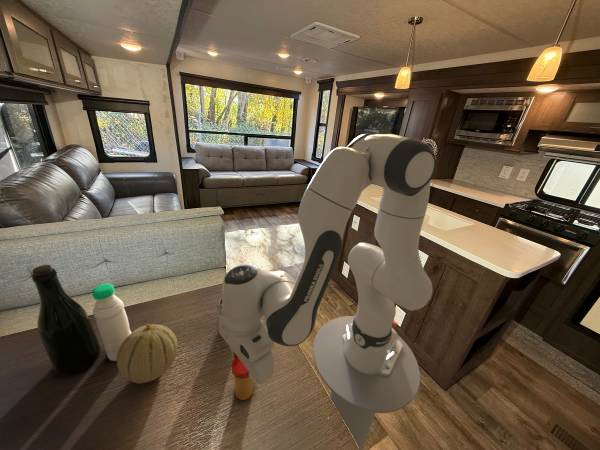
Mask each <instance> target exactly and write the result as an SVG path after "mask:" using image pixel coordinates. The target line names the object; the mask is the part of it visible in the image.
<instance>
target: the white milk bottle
mask: <svg viewBox="0 0 600 450" xmlns="http://www.w3.org/2000/svg"><path fill="white" fill-rule="evenodd" d="M115 293H116V292H115V287H114V285H113V284H111V283H102V284H99V285H97V286H95V287H94V288H93V289H92V291H91V295H92V297H93V299H94V300H95V303H94V306H93V309H92V315H93V317H94V319H95V323H96V326H97V330H98V333H99V335H100V338H101V340H102V344H103V347H104V349H105V353H106V356H107V359H108V360H110V361H112V362H117V359H116V358H117V353H118V350H119V347H120V346H121V344H122V342H123V341H124V340H125V339H126V337H128V336H129V335H130V334H131V333H132V331H131V329H130V322H129V318H128V315H127V312H126V310H125V304H124V301H123V300H122V299H121V298H119V297H118V296H117V295H116V294H115Z"/></svg>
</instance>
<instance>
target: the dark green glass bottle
mask: <svg viewBox="0 0 600 450" xmlns="http://www.w3.org/2000/svg"><path fill="white" fill-rule="evenodd" d="M31 272H32V274H31V281H32V282H33V284H34V285H35V288H36V291H37V293H38V297H39V312H38V317H37V322H36V323H37V324H36V325H37V331H38V334H39V337H40V340H41V343H42V345H43V347H44V350H45V352H46V355H47V357H48V360H49V362H50V363H51V365H52V367H53V369H54V371H55V372H56V374H57V375H59V376H67V377H68V376H73V375H77V374H79V373H81V372H83V371H85V370H87V369H88V368H90V367H91V366H92V365H94V364H95V363H96V361H97V360H98V359H99V357H100V355H101V352H102V348H101V346H100V343H99V339H98V337H97V334H96V332H95V329H94V327H93V325H92V324H93V323H92V322H91V319H90V317H89V315H88V313H87V311H86V309H85V308H84V307H83V305H81V304H80V303H79V302H77V301H76V300H75V299H74V298H72V297H71V296H70V295H69V294H68V293H67V291H66V290H65V289H64V287H63V285H62V283H61V281H60V279H59V276H58V272H57V270H56V269H55V268H53V267H52V266H51V264H43V265H38V266H36V267H34V268H33V269H32V270H31Z"/></svg>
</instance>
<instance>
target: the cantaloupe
mask: <svg viewBox="0 0 600 450" xmlns="http://www.w3.org/2000/svg"><path fill="white" fill-rule="evenodd" d="M178 349H179V343H178V339H177V336H176V334H175V333H174V332H173V331H172V329H170V327H168V326H166V325H162V324H155V323H153V324H149V323H146V324H145V325H143V326H139V327H138V328H136V329H134V330H133V331H131V334H130V335H129V336H128V337H126V339H125V340H124V341H123V342H122V344H121V346H120V347H119V350H118V353H117V358H116V359H117V361H116V366H117V369H118V372H119V374H120V375H121V376H122V378H123V379H124V380H127V381H130V382H132V383H135V384H145V383H146V384H147V383H149V382H152V381H154V380H157V379H158V378H160V377H161V376H163V374H165V373H166V372H167V371H168V370H169V369H170V368H171V366H172V365H173V363H174V361H175V359H176V356H177V353H178Z"/></svg>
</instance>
